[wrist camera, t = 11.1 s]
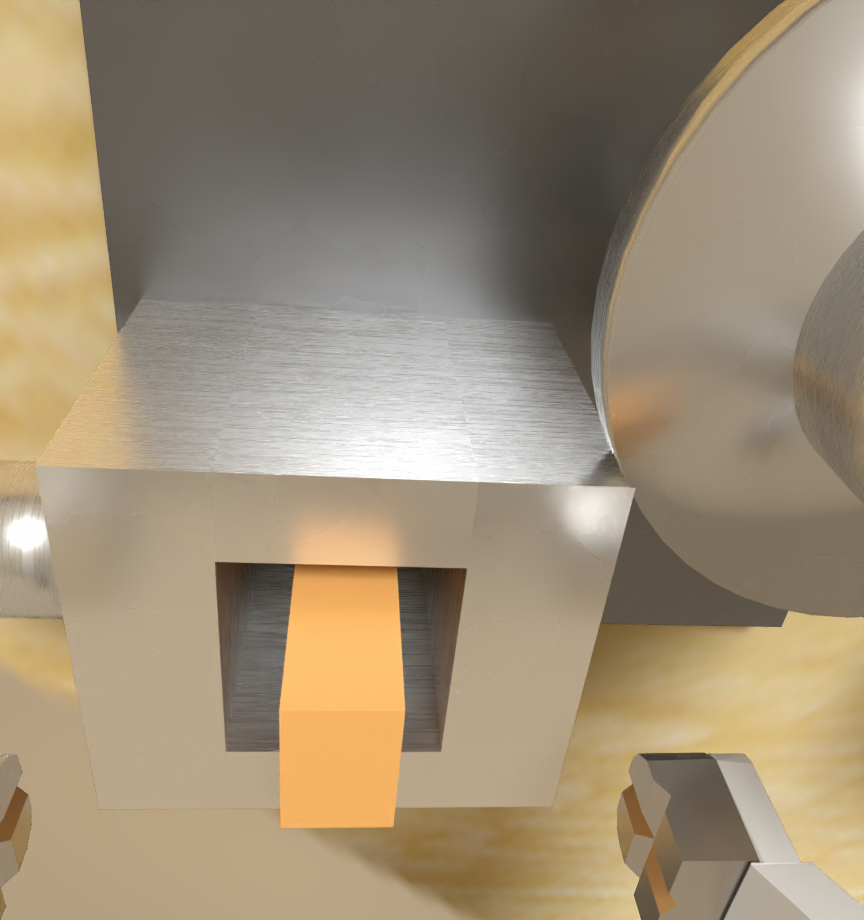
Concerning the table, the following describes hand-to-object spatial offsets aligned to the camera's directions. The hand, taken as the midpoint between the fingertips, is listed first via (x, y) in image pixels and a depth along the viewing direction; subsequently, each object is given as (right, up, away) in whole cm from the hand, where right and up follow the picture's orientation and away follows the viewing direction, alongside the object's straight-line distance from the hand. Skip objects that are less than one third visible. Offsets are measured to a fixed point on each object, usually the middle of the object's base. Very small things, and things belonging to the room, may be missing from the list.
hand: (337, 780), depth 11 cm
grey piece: (+3, +7, +7) cm, 10 cm away
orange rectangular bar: (-1, +4, +7) cm, 8 cm away
